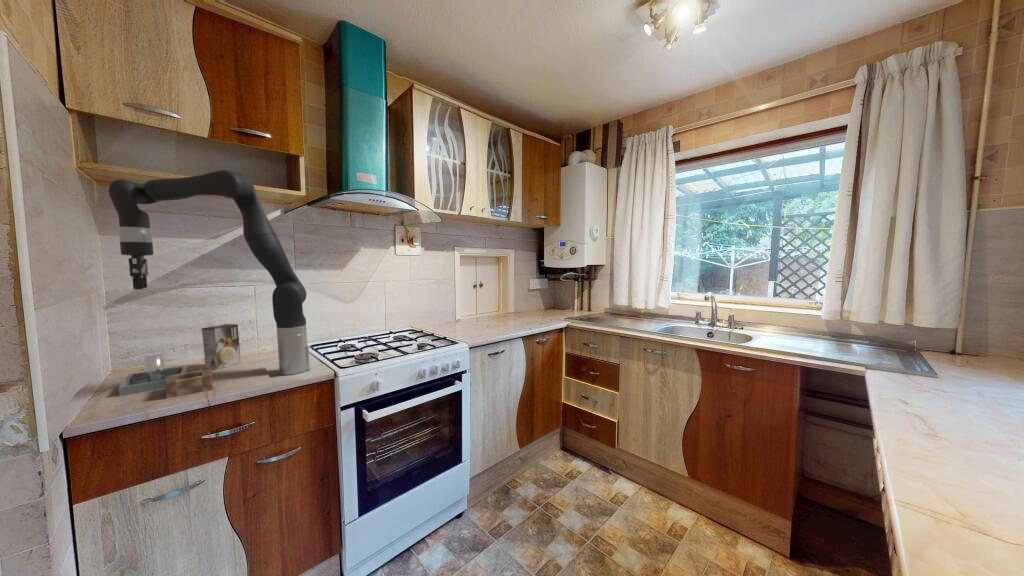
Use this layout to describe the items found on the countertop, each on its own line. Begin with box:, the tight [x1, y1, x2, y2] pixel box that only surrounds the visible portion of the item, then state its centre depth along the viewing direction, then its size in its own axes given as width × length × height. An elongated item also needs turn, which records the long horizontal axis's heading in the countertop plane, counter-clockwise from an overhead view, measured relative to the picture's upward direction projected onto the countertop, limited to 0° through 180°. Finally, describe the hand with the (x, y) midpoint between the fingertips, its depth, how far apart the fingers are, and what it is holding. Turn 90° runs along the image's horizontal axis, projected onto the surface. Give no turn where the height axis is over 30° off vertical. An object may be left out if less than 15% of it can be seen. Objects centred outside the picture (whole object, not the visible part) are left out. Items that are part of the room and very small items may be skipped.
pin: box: [144, 353, 165, 382], centre depth 112 cm, size 4×4×9 cm
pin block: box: [165, 368, 214, 399], centre depth 106 cm, size 10×10×6 cm
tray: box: [118, 365, 189, 397], centre depth 112 cm, size 14×17×4 cm
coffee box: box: [201, 323, 242, 370], centre depth 133 cm, size 9×6×16 cm
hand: (140, 288), depth 116 cm, fingers open, 8 cm apart
